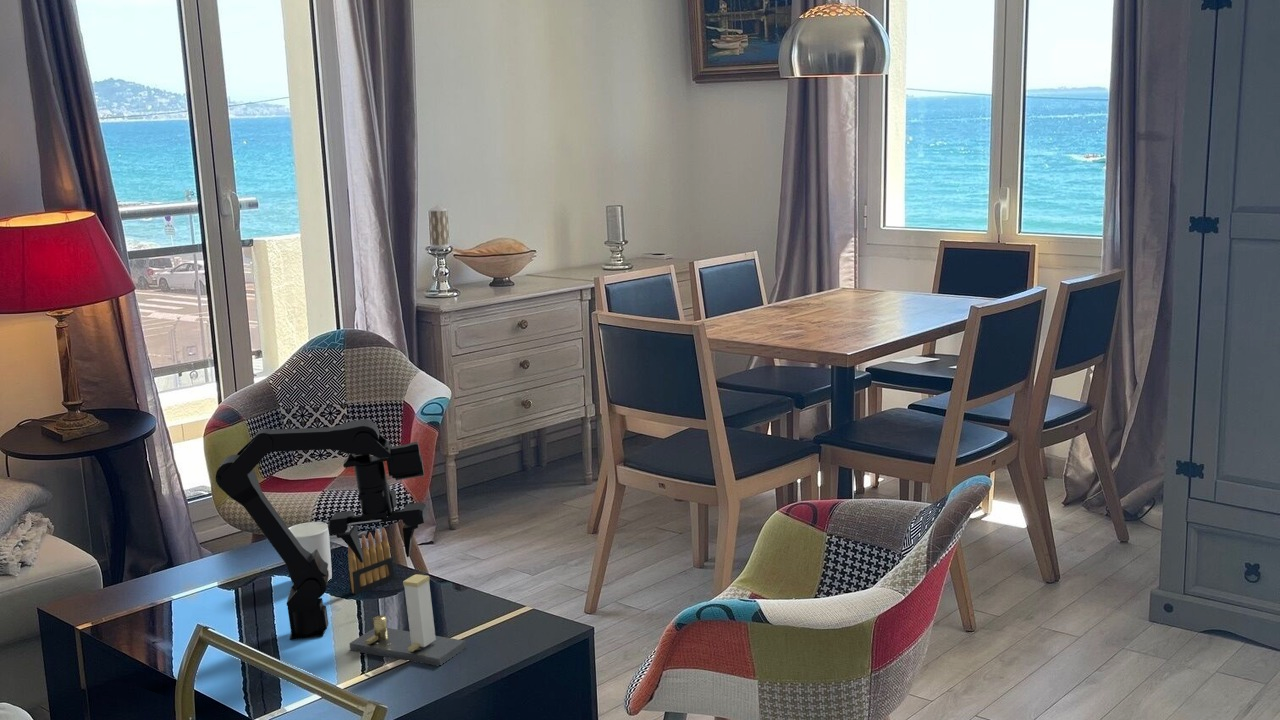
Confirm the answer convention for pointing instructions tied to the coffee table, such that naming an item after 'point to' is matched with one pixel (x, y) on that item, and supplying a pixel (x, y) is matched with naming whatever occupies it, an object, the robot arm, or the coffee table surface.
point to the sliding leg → (419, 611)
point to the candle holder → (314, 540)
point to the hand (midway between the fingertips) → (385, 559)
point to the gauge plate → (404, 645)
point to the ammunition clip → (371, 564)
